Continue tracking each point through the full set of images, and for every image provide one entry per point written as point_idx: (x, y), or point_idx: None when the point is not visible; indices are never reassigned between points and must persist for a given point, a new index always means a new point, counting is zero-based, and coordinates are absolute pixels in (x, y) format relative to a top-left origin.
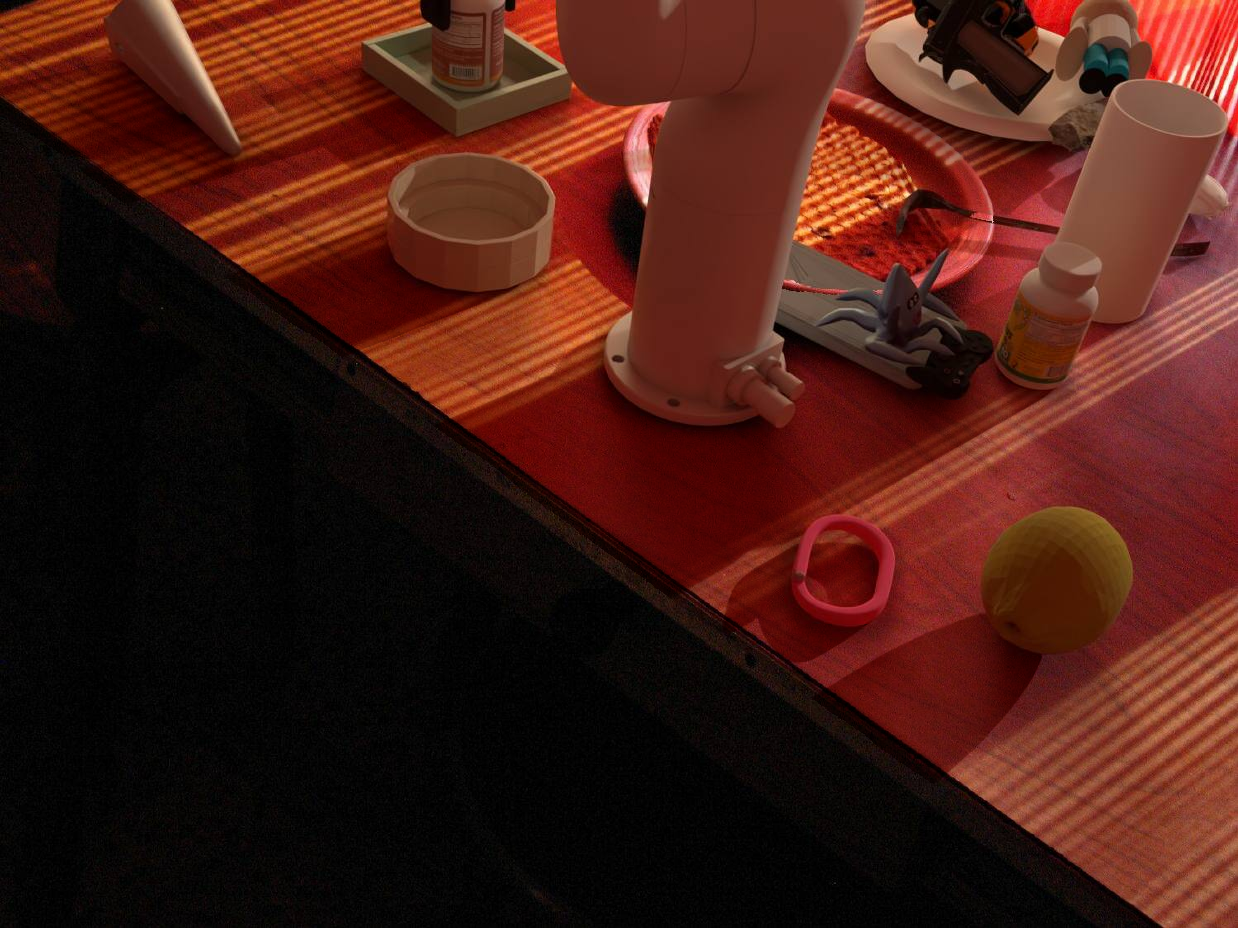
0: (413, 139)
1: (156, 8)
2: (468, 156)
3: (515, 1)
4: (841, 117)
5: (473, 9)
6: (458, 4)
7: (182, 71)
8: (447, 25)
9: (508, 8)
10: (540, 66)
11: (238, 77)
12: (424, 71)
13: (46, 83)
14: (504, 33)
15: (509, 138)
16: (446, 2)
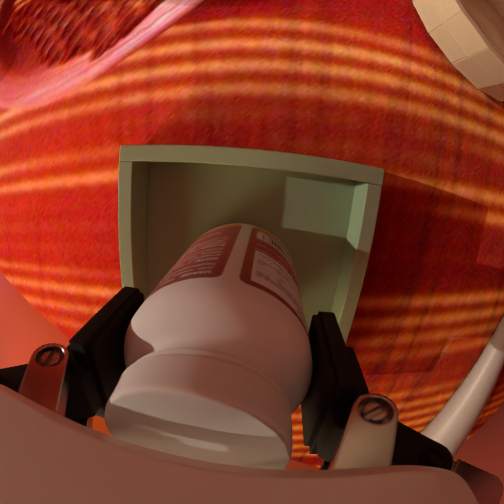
0: (409, 206)
1: None
2: (489, 43)
3: (116, 294)
4: (7, 17)
5: (276, 303)
6: (302, 338)
7: (487, 398)
8: (325, 316)
9: (138, 294)
10: (138, 210)
11: (413, 402)
12: None
13: None
14: None
15: (304, 113)
16: (342, 353)
